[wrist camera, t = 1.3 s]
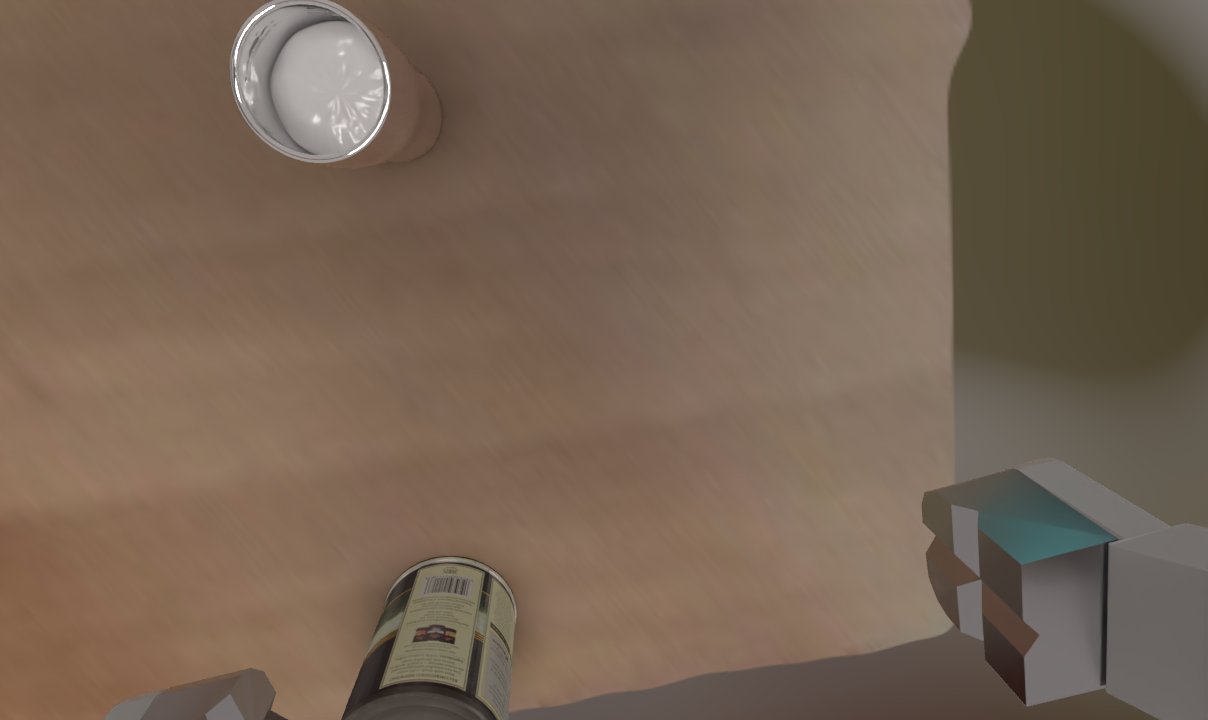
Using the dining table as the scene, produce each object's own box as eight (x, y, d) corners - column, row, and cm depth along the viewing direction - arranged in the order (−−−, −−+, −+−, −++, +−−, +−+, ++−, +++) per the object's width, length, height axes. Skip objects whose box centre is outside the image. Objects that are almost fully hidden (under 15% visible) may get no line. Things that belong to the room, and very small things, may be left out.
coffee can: (418, 686, 54) (372, 858, 40) (362, 582, 51) (292, 730, 37) (538, 643, 53) (532, 802, 40) (488, 536, 51) (464, 669, 37)
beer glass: (323, 63, 41) (199, 2, 27) (436, 45, 41) (373, -24, 27) (352, 178, 43) (252, 180, 29) (460, 161, 43) (413, 154, 29)
